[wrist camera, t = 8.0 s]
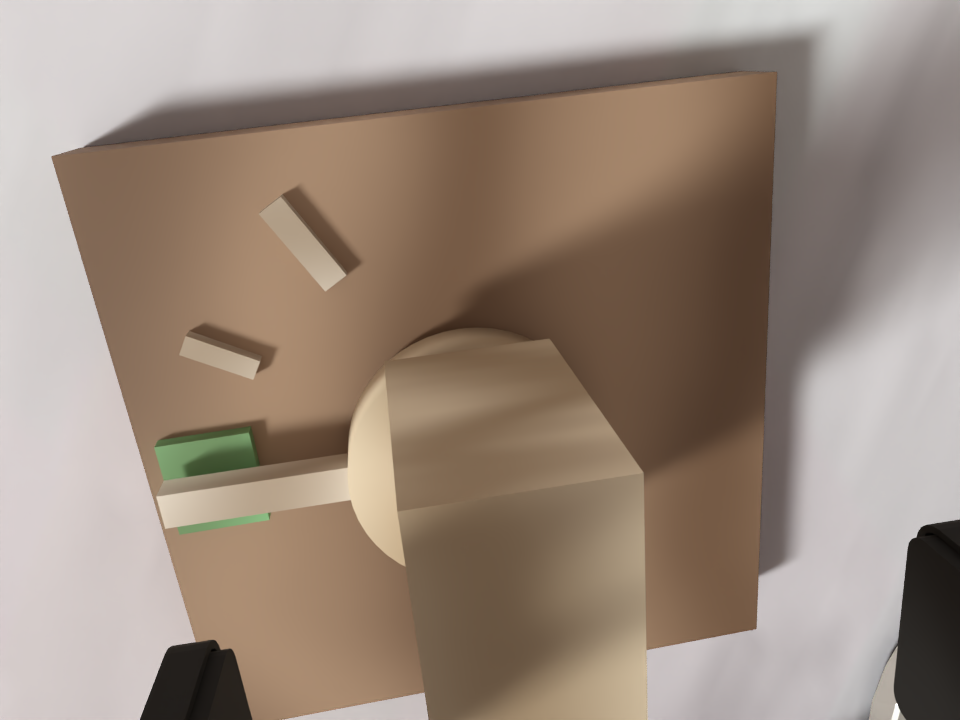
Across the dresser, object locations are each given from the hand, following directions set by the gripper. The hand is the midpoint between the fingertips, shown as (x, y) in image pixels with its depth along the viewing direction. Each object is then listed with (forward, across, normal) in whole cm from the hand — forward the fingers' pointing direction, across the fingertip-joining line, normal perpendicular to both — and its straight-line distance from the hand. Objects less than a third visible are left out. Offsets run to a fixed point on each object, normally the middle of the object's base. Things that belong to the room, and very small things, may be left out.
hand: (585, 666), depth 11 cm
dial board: (+8, +1, -1) cm, 8 cm away
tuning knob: (+6, +3, -1) cm, 7 cm away
